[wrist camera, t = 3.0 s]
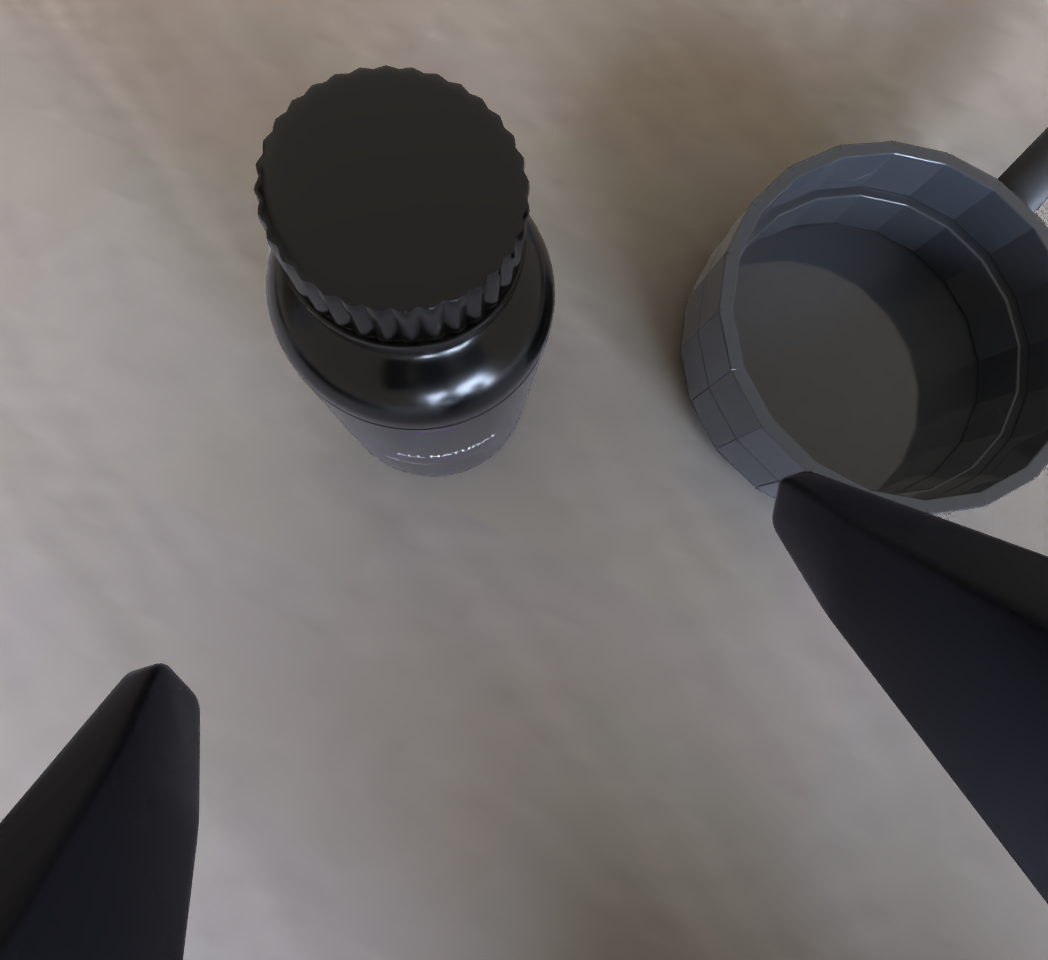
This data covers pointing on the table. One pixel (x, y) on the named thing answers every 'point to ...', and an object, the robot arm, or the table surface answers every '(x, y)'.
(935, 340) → the pan
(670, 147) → the table surface
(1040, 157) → the pan handle
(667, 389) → the table surface
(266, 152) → the supplement bottle
